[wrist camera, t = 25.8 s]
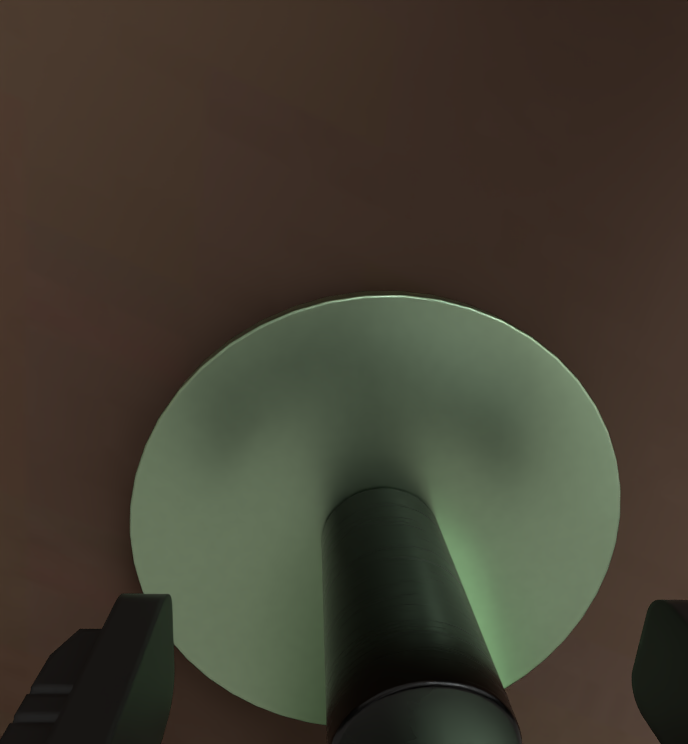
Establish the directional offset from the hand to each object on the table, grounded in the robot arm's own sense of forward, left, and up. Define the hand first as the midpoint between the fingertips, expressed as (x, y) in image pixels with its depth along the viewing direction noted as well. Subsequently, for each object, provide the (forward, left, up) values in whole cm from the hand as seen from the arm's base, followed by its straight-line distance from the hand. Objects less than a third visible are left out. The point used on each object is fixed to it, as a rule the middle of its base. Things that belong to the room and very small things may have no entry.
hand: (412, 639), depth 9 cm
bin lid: (+1, 0, -4) cm, 4 cm away
